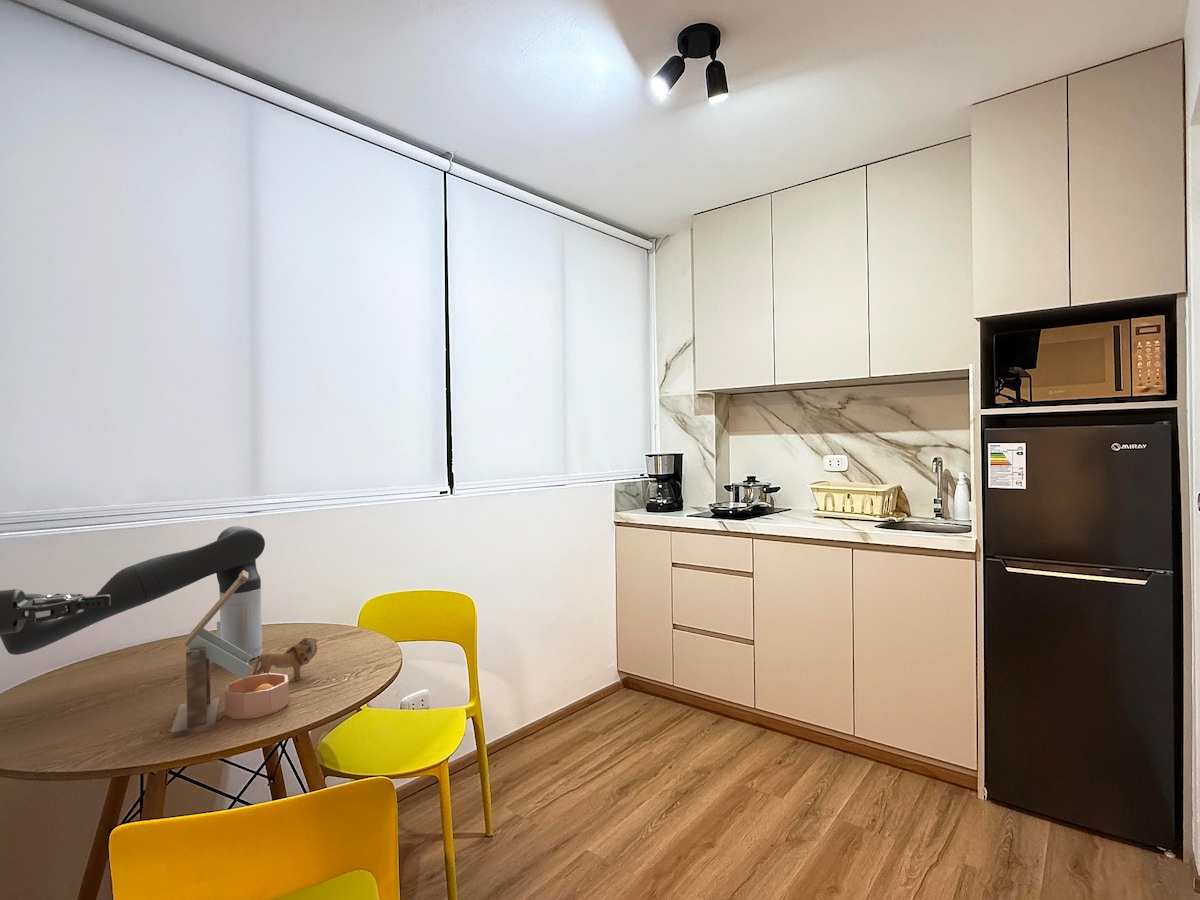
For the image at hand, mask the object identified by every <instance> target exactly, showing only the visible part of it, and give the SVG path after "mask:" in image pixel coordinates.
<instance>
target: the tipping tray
mask: <svg viewBox="0 0 1200 900" xmlns="http://www.w3.org/2000/svg"><path fill="white" fill-rule="evenodd" d="M248 574H249V573H248V572H246V571H245V570H243V571H242V572H241V573H240V574H239V578H238V579H237V580H236V581H235V582H234V583H233V585H232V586H231V587H230V588H229V589H228V590H227V591H226V593H225V594H224V595H223V596H222V597H221V598H220V597H219V599H218V601H217V602H216V603H215V604H214V605H213V606H212V607H211V609H210V610H209V611H208V612H207V613H206V614H205V615H204V617H202V619H201V620H200V621H199V623H197V625H196V626H195V627H194V628H193V629H192V630H191V632H189V634H188V635H187V637H186V640H185V642H184V646H186V647H187V648H188V649H194V648H201V647H206V658H207V659H209V660H210V662H213V663H215V664H216V665H218V666H219V667H222V668H223V669H225V670H227V671H228V672H230V673H232V674H234V675H236V676H237V677H239V678H240V679H241V678H243V679H244V677H247V675H248V674H249V673H250V672H251V670H252V669H253V666H251V665H249V663H250V661H251V660H253V659H252V657H253V656H251V655H249V654H248V653H246V652H244V651H242V650H241V649H239V648H237V647H236V646H234V645H232V644H230V643H229V642H227V641H225V640H224V639H222V638H220V637H218V636H217V634H215V633H214V632H212V631H210V630H209V629H206V628H205V627H206V626H207V624H208V623H209V622H210V621H211V620H212V619H213V618H214V616H215V615H216V614H217V613H218V612H219V611H220V608H221V607H222V606H223V605H224V604H225V602H226V601H227V600H228V599H229V598H230V597H231V595H232V594H233V593H234V592H235V591H236V590H237V589H238V587H239V586H240V585H241V584H242V583H243V584H244V583H245V582H246V581H247V579H248Z"/></svg>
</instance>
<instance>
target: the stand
mask: <svg viewBox="0 0 1200 900" xmlns="http://www.w3.org/2000/svg"><path fill="white" fill-rule="evenodd" d="M185 671H186V672H185V673H186V674H185V675H186V678H185V681H186V703H181V704H179V705H178V708H177V711H176V714H175V717H174V721H173V724H172V728H171V731H170V738H171V739H172V738H177V737H183V736H188V735H194V734H199V733H203V732H208V731H209V732H210V731H213V730H216V727H217V721H218V716H219V715H218V714H219V709H220V702H221V701H220V697H216V698H215V697H214V698H211V695H212V694H211V693H212V691H211V688H212V687H211V660H209V659H207V658H206V647H201V648H194V649H190V648H188V649H186V651H185Z"/></svg>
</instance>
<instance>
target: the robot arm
mask: <svg viewBox="0 0 1200 900" xmlns="http://www.w3.org/2000/svg"><path fill="white" fill-rule="evenodd" d="M265 542H266V541H265V538H264V536H263V535H262V534H261V532H259V531H257V530H256V529H254V528H252V527H251V528H250V527H247V526H243V525H240V526H239V525H234V526H230V527H227V528H225V529H224V530H222V532H220V533H219V535H218V537H217V539H216V540H215V541H213V542H210V543H207V544H205V545H203V546H200V547H196V548H193V549H189V550H185V551H179V552H178V551H177V552H174V553H169V554H165V555H160V556H156V557H153V558H149V559H146V560H144V561H139V562H138V563H135V564H132V565H129V566H127V567H124V568H122V569H120V570H119V571H117V572H116V573H115V574H114V575H113V576H112V577H111V578H110V579H108V581H106V583H105V584H104V585H103V586H102V587H101V588H100V590H99V591H97V593H96V594H95V595H89V596H86V595H84V594H82V593H73V594H72V593H56V594H53V595H51V594H40V593H25V592H24V590H23V589H21V588H16V589H15V588H14V589H3V590H0V640H1V641H2V643H3V644H2V645H3V647H4V649H5V650H6V651H7V653H8V654H10V655H13V656H19V655H24V654H28V653H31V652H35V651H37V650H41V649H42V648H45V647H47V646H49V645H51V644H54V643H57V642H58V641H60V640H62V639H64V638H66V637H68V636H71V635H73V634H75V633H78V632H79V631H81V630H83V629H85V628H88V627H90V626H91V625H94V624H96V623H98V622H101V621H103V620H106V619H108V618H111V617H114V616H116V615H118V614H121V613H124V612H126V611H128V610H132V609H135V608H136V607H140V606H143V605H145V604H147V603H151V602H152V601H155V600H157V599H160V598H163V597H164V596H167V595H170V594H171V593H173V592H175V591H178V590H180V589H183V588H185V587H188V586H190V585H192V584H193V583H196V582H198V581H200V580H202V579H204V578H207V577H210V576H212V575H214V574H215V575H216V578H217V582H218V587H219V590H218V591H219V599H220V598H221V597H222V596H223V595H224V594H225V593H226V591H227V590H228V589H229V588H230V587H231V586H232V585H233V583H234V582H235V581H236V580H237V579H238V578H239V574H240V573H241V572H242V571H243V570H245V571H246V572H248V573H249V574H248V579H247V581H246V582H245V583H244V584H243V583H242V584H241V585H240V586H239V587H238V589H237V590H236V591H235V592H234V593H233V594H232V595H231V597H230V598H229V599H228V600H227V601H226V602H225V604H224V605H223V606H222V607H221V608H220V609H219V620H217V622H216V635H217V636H218V637H220V638H222V639H224V640H225V641H227V642H229V643H230V644H232V645H234V646H236V647H237V648H239V649H241V650H242V651H244V652H246V653H248V654H249V655H251V656H253V657H252V659H251V660H253V658H254V659H256V658H259V657H258V656H260V655H262V654H263V634H262V633H263V632H262V631H263V629H262V627H263V625H262V623H263V622H262V588H261V587H262V585H261V584H262V580H261V576H260V574H259V572H258V569H257V562H256V560H257V559H258V558H259V557H260V556H261V555H262V554H263V552H264V551H265V546H266V543H265Z"/></svg>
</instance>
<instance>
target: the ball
mask: <svg viewBox="0 0 1200 900" xmlns="http://www.w3.org/2000/svg"><path fill="white" fill-rule="evenodd" d="M272 687H273V686H272V685H271V684H262V685H260V686H259V687H258V688H257V689H256V690H255V691H261V690H267V689H270V688H272Z"/></svg>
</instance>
